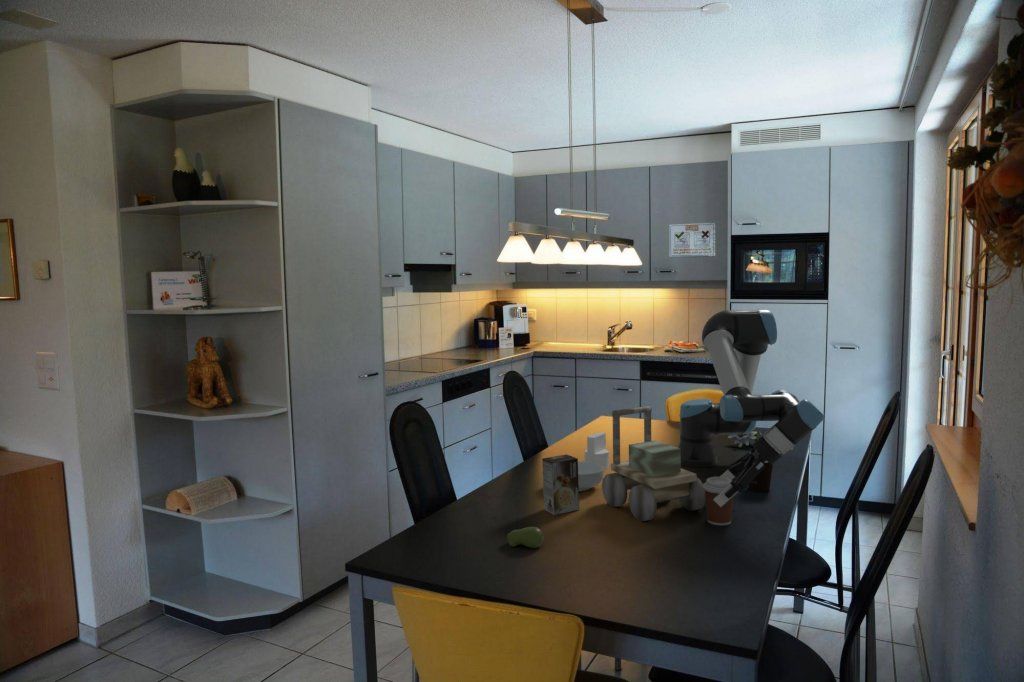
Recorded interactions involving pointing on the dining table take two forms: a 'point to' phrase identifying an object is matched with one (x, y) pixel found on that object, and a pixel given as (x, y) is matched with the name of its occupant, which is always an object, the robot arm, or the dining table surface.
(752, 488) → the coffee mug
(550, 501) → the coffee box
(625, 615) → the dining table surface
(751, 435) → the passion flower
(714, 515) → the coffee cup
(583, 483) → the cereal bowl
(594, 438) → the base with upright slab
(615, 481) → the wooden trolley
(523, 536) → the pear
